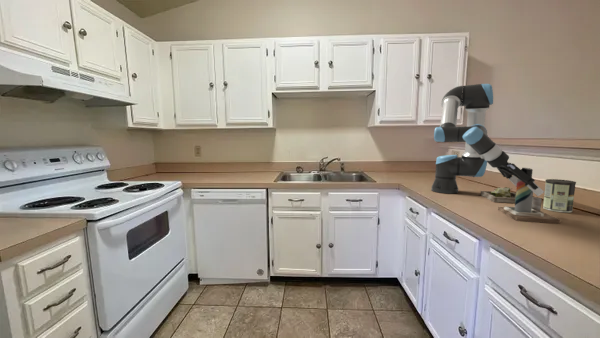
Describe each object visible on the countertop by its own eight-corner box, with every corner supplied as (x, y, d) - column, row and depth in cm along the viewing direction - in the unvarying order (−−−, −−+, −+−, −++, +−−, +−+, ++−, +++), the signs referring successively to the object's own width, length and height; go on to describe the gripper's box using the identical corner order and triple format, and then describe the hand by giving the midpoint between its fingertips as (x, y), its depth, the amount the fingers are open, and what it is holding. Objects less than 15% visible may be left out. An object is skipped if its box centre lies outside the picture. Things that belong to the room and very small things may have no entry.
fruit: (508, 199, 150) (512, 186, 147) (509, 204, 142) (514, 191, 140) (489, 194, 155) (493, 182, 152) (489, 199, 147) (493, 186, 145)
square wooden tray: (480, 195, 156) (480, 191, 155) (513, 196, 152) (513, 192, 151) (493, 202, 139) (494, 197, 139) (531, 203, 135) (531, 199, 135)
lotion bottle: (517, 209, 119) (521, 166, 117) (533, 212, 115) (537, 168, 112) (512, 211, 116) (516, 167, 114) (528, 215, 112) (532, 169, 109)
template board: (498, 210, 125) (499, 194, 124) (535, 212, 121) (536, 196, 120) (516, 220, 109) (518, 203, 108) (559, 223, 106) (562, 205, 105)
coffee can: (561, 207, 129) (564, 179, 127) (578, 213, 119) (582, 183, 117) (537, 206, 131) (540, 178, 129) (552, 212, 121) (555, 182, 119)
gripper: (475, 159, 128) (508, 190, 127) (501, 164, 104) (541, 203, 103) (488, 148, 126) (522, 180, 125) (517, 151, 102) (559, 190, 101)
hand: (530, 190), depth 114 cm, fingers open, 13 cm apart
